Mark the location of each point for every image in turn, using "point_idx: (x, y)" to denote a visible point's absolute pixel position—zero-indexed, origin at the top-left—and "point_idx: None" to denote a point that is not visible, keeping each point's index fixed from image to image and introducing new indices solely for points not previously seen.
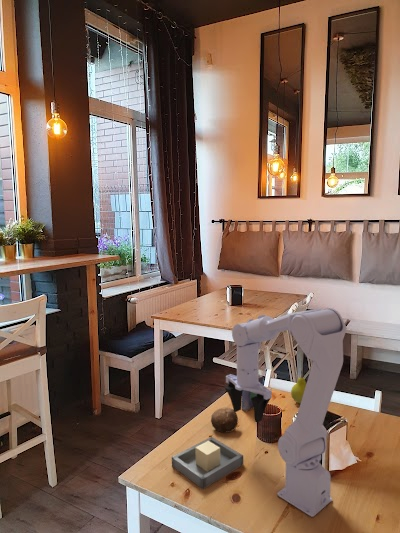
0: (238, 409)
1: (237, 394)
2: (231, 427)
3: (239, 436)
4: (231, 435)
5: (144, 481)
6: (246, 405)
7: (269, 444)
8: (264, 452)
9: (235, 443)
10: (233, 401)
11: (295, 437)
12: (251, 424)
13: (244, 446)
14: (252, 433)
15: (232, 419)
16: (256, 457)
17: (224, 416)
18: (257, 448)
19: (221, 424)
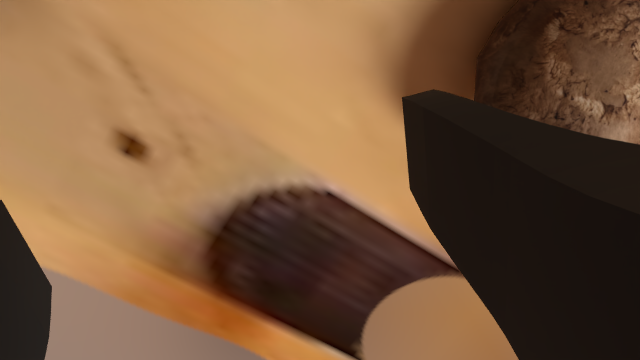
0: (413, 161)
1: (561, 320)
2: (485, 74)
3: (398, 87)
4: (444, 43)
5: None
6: None
7: (203, 210)
8: (131, 133)
9: (343, 9)
10: (502, 149)
11: None
12: None
13: (272, 47)
14: (372, 182)
15: (525, 117)
16: (96, 45)
17: (594, 72)
18: (201, 117)
19: (556, 10)
